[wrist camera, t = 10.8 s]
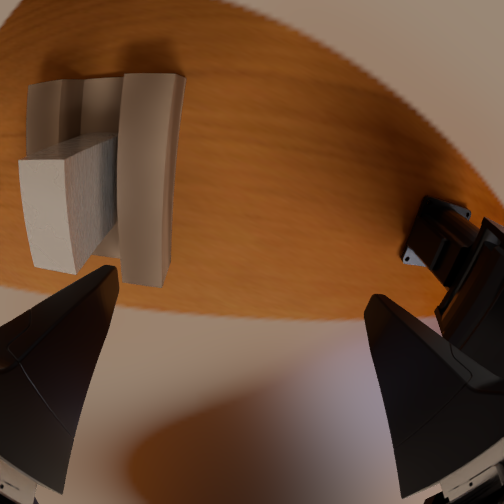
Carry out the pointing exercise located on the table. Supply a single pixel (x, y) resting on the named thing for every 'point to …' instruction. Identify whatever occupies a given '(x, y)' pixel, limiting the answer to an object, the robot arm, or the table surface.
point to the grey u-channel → (122, 156)
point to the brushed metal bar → (69, 199)
